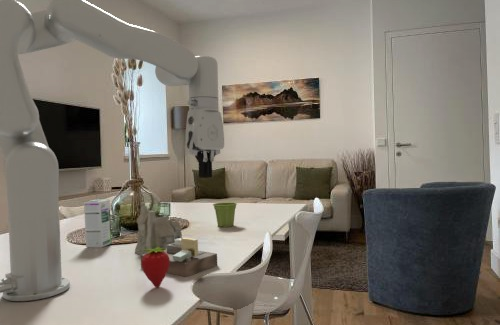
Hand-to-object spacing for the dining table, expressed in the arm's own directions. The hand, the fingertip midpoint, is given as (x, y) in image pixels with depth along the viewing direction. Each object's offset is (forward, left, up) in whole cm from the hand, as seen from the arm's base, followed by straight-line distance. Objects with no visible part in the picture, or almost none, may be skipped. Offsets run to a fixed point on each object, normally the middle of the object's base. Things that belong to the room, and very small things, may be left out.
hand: (205, 177), depth 105 cm
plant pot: (+43, +30, -22) cm, 57 cm away
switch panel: (-6, +4, -22) cm, 23 cm away
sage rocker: (-10, -1, -19) cm, 21 cm away
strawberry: (-20, -4, -22) cm, 30 cm away
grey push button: (-3, +6, -19) cm, 20 cm away
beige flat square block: (-7, 0, -19) cm, 20 cm away
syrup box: (-3, +44, -22) cm, 50 cm away
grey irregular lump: (+4, +21, -23) cm, 31 cm away
